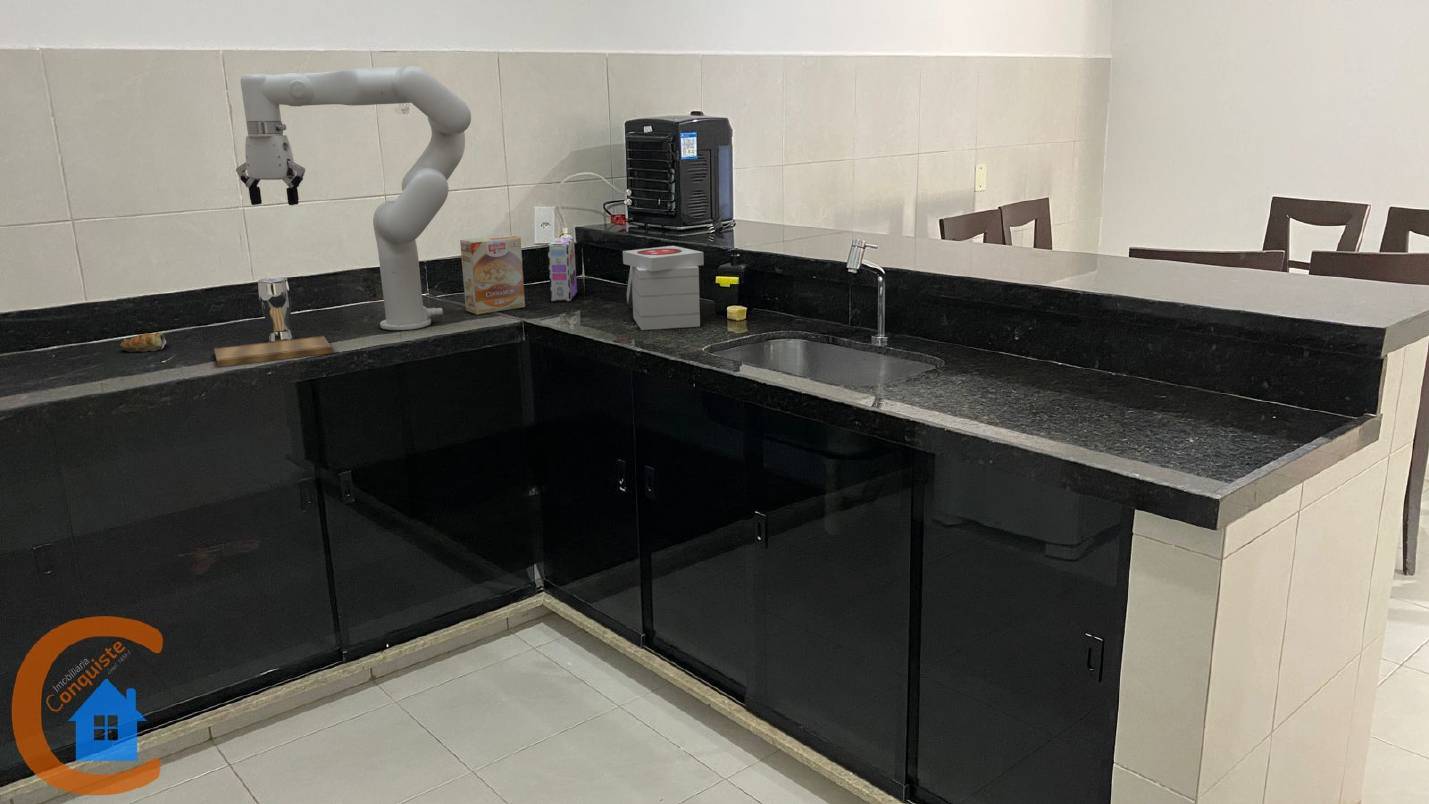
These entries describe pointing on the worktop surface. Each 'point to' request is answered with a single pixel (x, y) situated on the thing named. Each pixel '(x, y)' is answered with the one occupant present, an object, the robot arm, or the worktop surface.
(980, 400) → the worktop surface
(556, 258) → the candy box
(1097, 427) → the worktop surface
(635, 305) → the pizza boxes
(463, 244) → the coffeecake box
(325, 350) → the serving board
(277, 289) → the beer glass
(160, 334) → the pastry
